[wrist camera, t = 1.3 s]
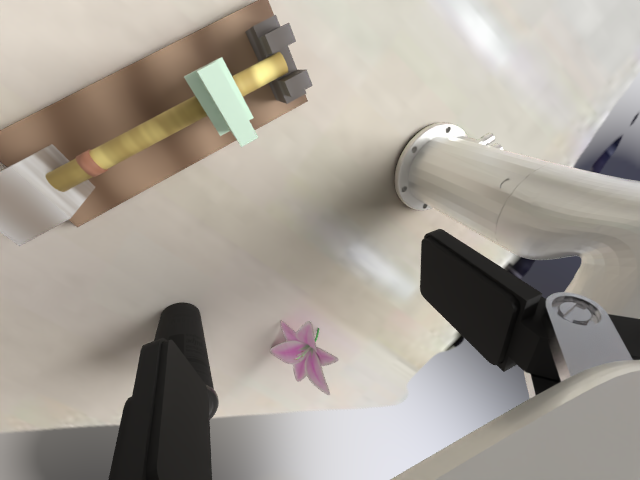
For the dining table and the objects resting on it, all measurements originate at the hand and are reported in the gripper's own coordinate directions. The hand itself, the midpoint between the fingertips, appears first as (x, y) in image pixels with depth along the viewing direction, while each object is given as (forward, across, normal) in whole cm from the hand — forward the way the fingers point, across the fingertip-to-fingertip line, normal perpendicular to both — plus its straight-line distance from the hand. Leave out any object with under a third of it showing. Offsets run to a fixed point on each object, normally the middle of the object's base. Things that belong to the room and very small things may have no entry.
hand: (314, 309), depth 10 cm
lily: (+26, 0, +31) cm, 41 cm away
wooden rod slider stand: (+26, +5, -5) cm, 27 cm away
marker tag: (+22, 0, -6) cm, 23 cm away
